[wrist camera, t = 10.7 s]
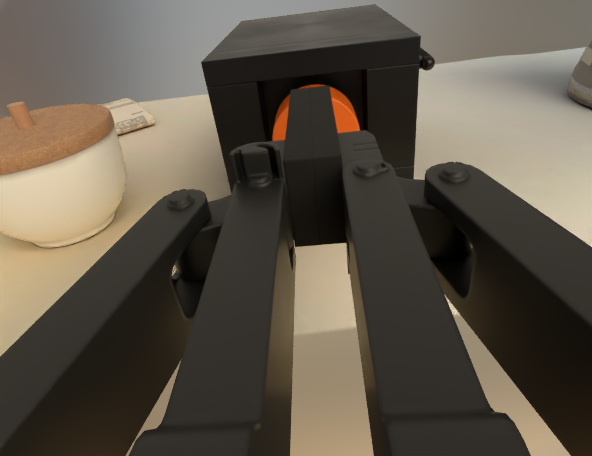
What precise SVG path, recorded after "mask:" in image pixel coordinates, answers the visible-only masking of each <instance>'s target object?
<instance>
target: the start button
mask: <svg viewBox="0 0 592 456" xmlns="http://www.w3.org/2000/svg"><path fill="white" fill-rule="evenodd" d="M319 86H326V85H320V84H313V85H307V86H303V87H300V88H298V89H301V88H310V87H319ZM329 87H330V86H329ZM330 92H331V98H332V104H333V109H334V115H335V121H336V126H337V132H338V133H344V132H354V131H360V127H359V123H358V120H357V117H356V114H355V111H354V108H353V106H352V104H351V103H350V101H349V100H348V99H347V97H346V96H345V95H344V94H342V93H341V92H340V91H338V90H336V89H335V88H332V87H330ZM289 100H290V94H289V95H288V96H287V97H286V98H285V99H284V100H283V102H282V103H281V105H280V106H279V108H278V111H277V114H276V118H275V123H274V129H273V136H272V140H273V141H279V140H285V136H286V127H287V118H288V109H289Z"/></svg>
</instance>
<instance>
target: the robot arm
mask: <svg viewBox="0 0 592 456" xmlns="http://www.w3.org/2000/svg"><path fill="white" fill-rule="evenodd" d="M568 94H569V95H570V96H571V97H572V98H573V99H574V100H576V101H578V102H579V103H582V104H584V105H586V106H589V107H592V41H591V43H590V44H589V46H587V48H586V49H585V51H584V53H583V55H582V56H581V58H580V61H579V62H578V64H577V65H576V67H575V69H574V72H573V73H572V76H571V80H570V84H569V88H568ZM229 159H230V164H231V168H232V172H233V177H234V181H235V185H234V188H233V192H232V195H230V196H228V197H225V198H222V199H218V200H214V201H211V202H208V201H207V198H206V195H205V193H204V192H202V191H200V190H194V189H190V190H186V189H183V190H179V191H174V192H172V193H171V194H169V195H167V196H165V197H163V198H162V199H161V200H159V201H158V202H157V203H156V204H155V205H154V206H153V207H152V208H151V209H150V210H149V211H148V212H147V213H146V214H145V215H144V216H143V217H142V218H141V219H140V220H139V221H138V222H137V223H136V224H135V225H134V226H133V227H132V228H131V229H130V230H129V231H128V232H127V233H126V234H124V235H123V236H122V237H121V238H120V239H119V240H118V241H117V242H116V243H115V244H114V245H113V246H112V247H111V248H110V249H109V250H108V251H107V252H106V253H105V254H104V255H103V256H102V257H101V258H100V259H99V260H98V261H97V262H96V263H95V264H94V265H93V266H92V267H91V268H90V269H89V270H88V271H87V272H86V273H85V274H84V275H83V276H82V277H81V278H80V279H79V280H78V281H77V282H76V283H75V284H74V285H73V286H72V287H71V288H70V289H69V290H68V291H67V292H66V293H65V294H64V295H63V296H62V297H61V298H59V299H58V300H57V301H56V302H55V303H54V304H53V305H52V306H51V307H50V308H49V309H48V310H47V311H46V312H45V313H44V314H43V315H42V316H41V317H40V318H39V319H38V320H37V321H36V322H35V323H34V324H33V325H32V326H31V327H30V328H29V329H28V330H27V331H26V332H25V333H24V334H23V335H22V336H21V337H20V338H19V339H18V340H17V341H16V342H15V343H14V344H13V345H12V346H11V347H10V348H9V349H8V350H7V351H6V352H5V353H4V354H3V355H2V356H1V357H0V456H125V455H126V454H127V452H128V450H129V448H130V447H131V445H132V443H133V442H134V440H135V438H136V436H137V435H138V433H139V431H140V429H141V428H142V426H143V424H144V422H145V421H146V419H147V417H148V416H149V414H150V412H151V410H152V409H153V407H154V405H155V404H156V402H157V400H158V399H159V397H160V395H161V393H162V392H163V390H164V388H165V386H166V385H167V383H168V381H169V379H170V378H171V376H172V374H173V373H174V371H175V369H176V368H177V366H178V364H179V362H180V361H181V363H180V366H179V370H178V373H177V376H176V379H175V383H174V386H173V389H172V393H171V396H170V399H169V403H168V406H167V409H166V413H165V415H164V418H163V420H162V423H161V424H160V425H159V427H158V428H156V429H152V430H146V431H144V432H143V433H142V434H141V435H140V436H139V438H138V439H137V440H136V441H135V444H134V446H133V448H132V450H131V452H130V454H129V456H290V434H291V433H290V432H291V431H290V430H291V399H292V366H293V365H292V364H293V332H294V298H295V264H296V256H295V249H294V241H295V247H299V246H311V245H323V244H335V243H346V244H347V261H348V274H350V279H351V286H352V294H353V302H354V309H355V317H356V324H357V332H358V339H359V347H360V354H361V362H362V369H363V377H364V384H365V392H366V399H367V407H368V414H369V422H370V429H371V436H372V445H373V452H374V456H531V455H530V453H529V451H528V448H527V447H526V444H525V442H524V440H523V438H522V436H521V434H520V432H519V430H518V429H517V427H516V425H515V423H514V422H513V421H512V420H511V419H510V418H509V416H508V415H507V414H506V413H499V412H494V410H493V409H492V408H491V407H490V405H489V403H488V401H487V399H486V397H485V394H484V392H483V390H482V387H481V385H480V382H479V379H478V377H477V375H476V372H475V370H474V367H473V364H472V362H471V359H470V357H469V354H468V352H467V350H466V347H465V345H464V342H463V340H462V337H461V335H460V332H459V330H458V327H457V325H456V322H455V320H454V317H453V315H452V312H451V310H450V307H449V305H448V302H447V300H446V297H447V298H448V299H449V301H450V302H451V303H452V304H453V306H454V307H455V308H456V309H457V311H458V312H459V313H460V315H461V316H462V317H463V318H464V320H465V321H466V322H467V324H468V325H469V326H470V327H471V329H472V330H473V331H474V332H475V334H476V335H477V336H478V338H479V339H480V340H481V341H482V343H483V344H484V345H485V346H486V348H487V349H488V350H489V351H490V353H491V354H492V355H493V356H494V358H495V359H496V360H497V362H498V363H499V364H500V366H501V367H502V368H503V369H504V371H505V372H506V373H507V375H508V376H509V377H510V378H511V380H512V381H513V382H514V383H515V385H516V386H517V387H518V388H519V390H520V391H521V392H522V394H523V395H524V396H525V398H526V399H527V400H528V401H529V403H530V404H531V405H532V406H533V408H534V409H535V410H536V412H537V413H538V414H539V415H540V417H541V418H542V419H543V420H544V422H545V423H546V424H547V425H548V427H549V428H550V429H551V431H552V432H553V433H554V435H555V436H556V437H557V438H558V440H559V441H560V442H561V443H562V445H563V446H564V447H565V449H566V450H567V451H568V452H569V454H570V455H571V456H592V247H591V246H589V245H588V244H586V243H585V242H583V241H582V240H581V239H579V238H578V237H576V236H575V235H573V234H572V233H570V232H569V231H568V230H566V229H565V228H563V227H562V226H560V225H559V224H557V223H556V222H554V221H553V220H552V219H550V218H549V217H547V216H546V215H544V214H543V213H541V212H540V211H539V210H537V209H536V208H534V207H533V206H531V205H530V204H528V203H527V202H526V201H524V200H523V199H521V198H520V197H518V196H517V195H515V194H514V193H513V192H511V191H510V190H508V189H507V188H505V187H504V186H502V185H501V184H499V183H498V182H497V181H495V180H494V179H492V178H491V177H489V176H488V175H486V174H485V173H484V172H482V171H481V170H479V169H477V168H475V167H473V166H471V165H466V164H463V163H460V162H455V163H454V162H448V163H444V164H438V165H435V166H432V167H431V168H429V169H428V170H427V171H426V174H425V180H414V179H405V178H401V177H398V176H397V175H396V173H395V170H394V168H393V167H392V166H391V165H390V164H389V163H387V162H385V161H384V160H383V158H382V155H381V152H380V150H379V147H378V144H377V142H376V139H375V136H374V135H373V134H371V133H369V132H368V131H366V130H363V131H354V132H344V133H338V132H337V126H336V121H335V115H334V109H333V104H332V98H331V92H330V87H329V85H327V86H319V87H310V88H301V89H293V90H291V91H290V100H289V109H288V118H287V127H286V136H285V140H279V141H269V142H255V143H250V144H245V145H242V146H240V147H237V148H236V149H234V150H232V151H231V152H230V154H229ZM174 265H175V267H176V270H177V271H176V272H175V274H174V275H173V276H172V269H173V267H174ZM171 276H172V277H171ZM444 294H445V295H446V297H445V295H444ZM181 359H182V360H181Z"/></svg>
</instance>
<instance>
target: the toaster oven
mask: <svg viewBox="0 0 592 456" xmlns="http://www.w3.org/2000/svg"><path fill="white" fill-rule="evenodd" d="M420 39H421V36H420V35H418V34H417V33H415V32H414V31H413V30H411V29H409V28H408V27H406V26H405V25H404V24H402V23H401V22H400V21H398V20H397V19H395V18H394V17H392V16H391V15H390V14H388V13H387V12H385V11H384V10H382V9H381V8H380V7H378V6H377V5H366V6H359V7H350V8H342V9H335V10H327V11H319V12H311V13H303V14H295V15H287V16H279V17H271V18H264V19H255V20H247V21H242V22H241V23H239V25H238V26H237V27H236V28H235V29H234V30H233V31H232V32H231V33H230V34H229V35H228V36H227V37H226V38H225V39H224V40H223V41H222V42H221V43H220V44H219V45H218V46H217V47H216V48H215V49H214V50H213V51H212V52H211V53H210V54H209V55H208V56H207V57H206V58H205V59H204V60H203V61H202V62H201V63H202V68H203V72H204V77H205V81H206V85H207V87H208V88H207V89H208V94H209V98H210V102H211V107H212V111H213V115H214V120H215V124H216V128H217V133H218V137H219V141H220V146H221V150H222V155H223V159H224V163H225V168H226V172H227V176H228V181H229V185H230V189H231V194H232V192H233V188H234V185H235V181H234V177H233V172H232V168H231V164H230V159H229V154H230V152H231V151H232V150H234V149H236V148H237V147H240V146H242V145H245V144H250V143H255V142H269V141H273V140H272V136H273V129H274V123H275V118H276V114H277V111H278V108H279V106H280V105H281V103H282V102H283V100H284V99H285V98H286V97H287V96H288V95H289V94H290V91H291V90H293V89H298V88H300V87H303V86H307V85H313V84H320V85H326V86H327V85H329V86H330V87H332V88H335V89H336V90H338V91H340V92H341V93H342V94H344V95H345V96H346V97H347V99H348V100H349V101H350V103H351V104H352V106H353V108H354V111H355V114H356V117H357V120H358V123H359V127H360V131H363V130H366V131H368V132H369V133H371V134H373V135H374V136H375V139H376V142H377V144H378V147H379V150H380V152H381V155H382V158H383V160H384V161H385V162H387V163H389V164H390V165H391V166H392V167H393V168H394V170H395V173H396V175H397V176H398V177H401V178H405V179H413V178H414V158H415V138H416V118H417V98H418V78H419V69H421V68H422V69H423V70H430V69H432V68H433V67H434V64H435V60H434V58H433V57H432V56H431V55H429V54H428V53H427V52H426V51H424V50H423V49H422V48H420Z"/></svg>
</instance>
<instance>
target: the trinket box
mask: <svg viewBox="0 0 592 456" xmlns="http://www.w3.org/2000/svg"><path fill="white" fill-rule="evenodd" d="M7 108H8V110H9V112H10V114H11V116H8V117H5V118H1V119H0V232H2V233H4V234H6V235H8V236H11V237H13V238H16V239H20V240H24V241H29V242H33V243H34V244H35V245H37V246H40V247H48V248H52V247H61V246H66V245H70V244H74V243H77V242H80V241H82V240H85V239H87V238H89V237H91V236H93V235H95V234H97V233H98V232H100V231H101V230H103V229H104V228H105V227H107V226H108V225H109V224H110V223H111V222H112V220H113V219H114V217H115V210H116V209H117V207H118V205H119V203H120V201H121V199H122V197H123V194H124V190H125V185H126V167H125V161H124V156H123V152H122V147H121V144H120V141H119V138H118V135H117V133H116V130H115V127H114V126H115V124H114V120H113V117H112V114H111V111H110V110H109V109H108V108H106V107H104V106H101V105H96V104H70V105H60V106H53V107H48V108H41V109H37V110H32V111H28V110H27V107H26V105H25V103H24V102H17V103H13V104H10V105H8V106H7Z"/></svg>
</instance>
